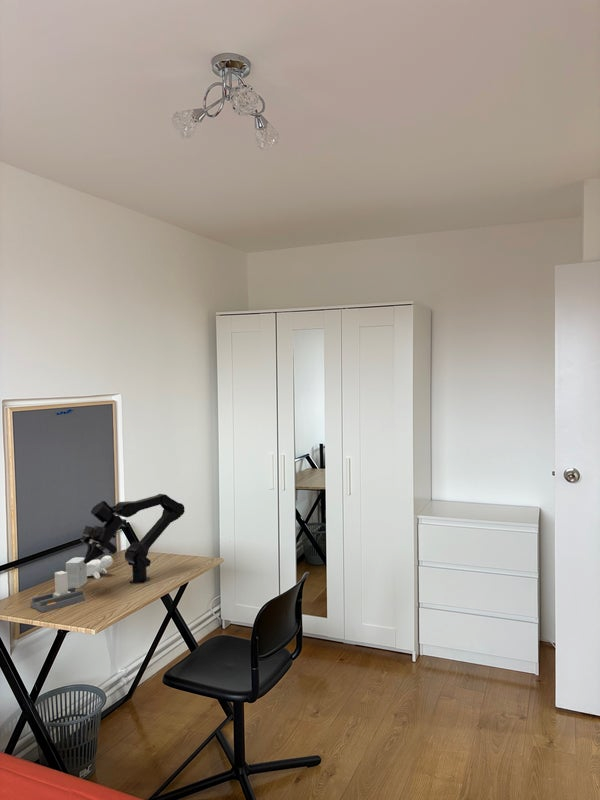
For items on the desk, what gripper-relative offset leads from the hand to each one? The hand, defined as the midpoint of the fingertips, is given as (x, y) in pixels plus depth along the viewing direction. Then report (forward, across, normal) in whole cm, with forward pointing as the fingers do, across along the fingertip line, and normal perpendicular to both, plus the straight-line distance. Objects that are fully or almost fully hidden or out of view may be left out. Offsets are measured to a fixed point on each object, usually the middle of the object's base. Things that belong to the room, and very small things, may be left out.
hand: (84, 563), depth 235 cm
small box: (+6, -16, +12) cm, 21 cm away
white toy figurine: (-2, -22, +21) cm, 30 cm away
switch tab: (+14, 0, +1) cm, 14 cm away
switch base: (+17, 0, +1) cm, 17 cm away
